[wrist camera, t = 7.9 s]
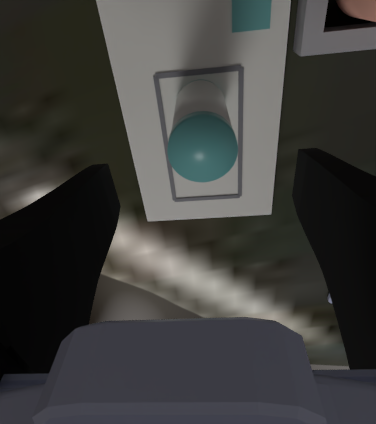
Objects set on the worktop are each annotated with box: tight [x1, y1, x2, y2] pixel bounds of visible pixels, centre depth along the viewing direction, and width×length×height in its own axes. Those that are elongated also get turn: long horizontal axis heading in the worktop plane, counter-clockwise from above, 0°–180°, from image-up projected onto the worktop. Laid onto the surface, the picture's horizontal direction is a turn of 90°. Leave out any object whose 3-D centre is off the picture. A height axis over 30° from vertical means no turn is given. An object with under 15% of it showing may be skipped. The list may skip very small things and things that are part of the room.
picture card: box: [96, 0, 291, 221], centre depth 19 cm, size 16×10×1 cm, turn 6°
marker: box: [167, 79, 238, 182], centre depth 16 cm, size 3×3×7 cm
